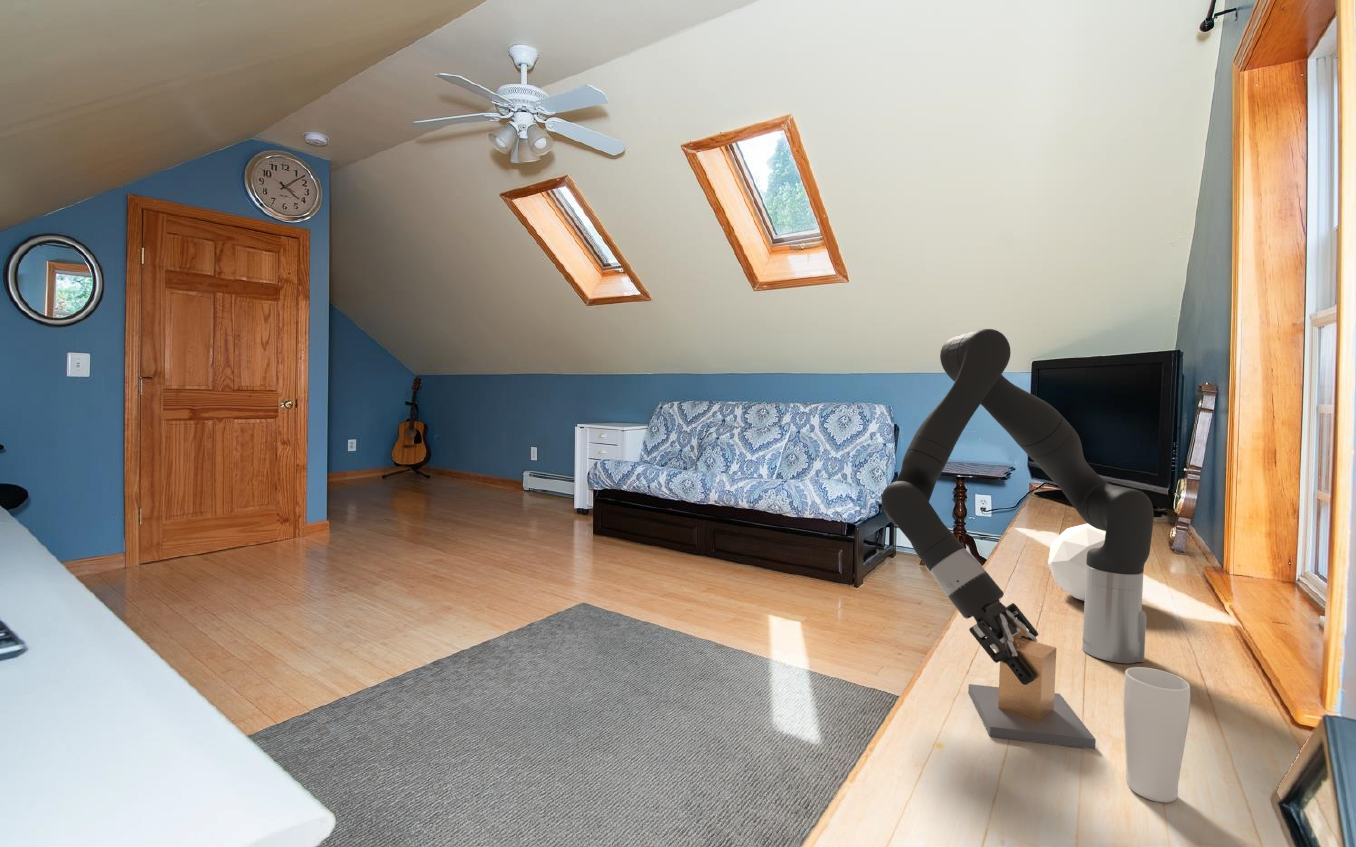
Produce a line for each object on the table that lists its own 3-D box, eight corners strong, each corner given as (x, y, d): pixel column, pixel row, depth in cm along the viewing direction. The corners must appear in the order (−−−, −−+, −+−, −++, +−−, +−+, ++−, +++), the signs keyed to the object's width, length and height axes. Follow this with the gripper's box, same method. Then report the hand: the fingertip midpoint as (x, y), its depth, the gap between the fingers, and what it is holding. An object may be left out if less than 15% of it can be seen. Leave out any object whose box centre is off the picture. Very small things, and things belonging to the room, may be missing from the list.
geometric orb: (1093, 621, 160) (1125, 555, 164) (1140, 621, 141) (1176, 546, 145) (1021, 579, 164) (1054, 515, 169) (1058, 572, 145) (1095, 501, 150)
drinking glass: (1106, 776, 84) (1111, 666, 83) (1153, 774, 84) (1159, 665, 84) (1148, 810, 77) (1154, 691, 76) (1199, 807, 78) (1205, 689, 77)
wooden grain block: (1013, 695, 103) (1015, 636, 102) (1053, 710, 98) (1056, 647, 98) (998, 707, 99) (1000, 645, 98) (1039, 723, 94) (1042, 658, 94)
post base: (1059, 702, 104) (1061, 658, 103) (1095, 749, 90) (1097, 698, 90) (968, 692, 107) (969, 649, 107) (989, 736, 93) (991, 687, 93)
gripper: (963, 579, 98) (1042, 678, 90) (1000, 562, 108) (1074, 651, 100) (929, 603, 102) (1002, 700, 94) (967, 585, 112) (1036, 672, 104)
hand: (1039, 674), depth 97 cm, fingers open, 7 cm apart
